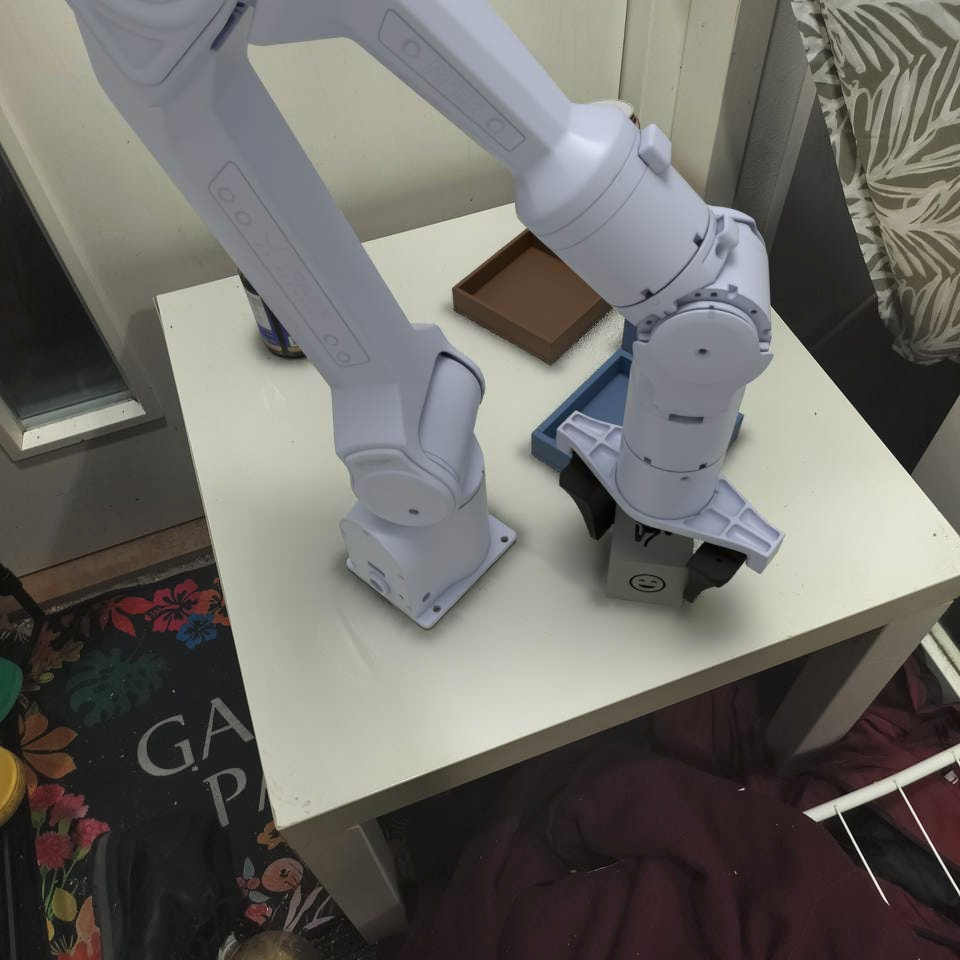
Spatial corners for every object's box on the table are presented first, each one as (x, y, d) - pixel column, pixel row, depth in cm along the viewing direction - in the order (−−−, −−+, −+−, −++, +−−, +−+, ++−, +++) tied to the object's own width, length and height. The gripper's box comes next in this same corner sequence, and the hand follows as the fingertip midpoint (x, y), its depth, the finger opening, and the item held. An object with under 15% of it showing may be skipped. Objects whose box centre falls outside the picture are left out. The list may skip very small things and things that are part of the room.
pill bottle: (340, 311, 74) (313, 205, 65) (326, 361, 71) (296, 256, 62) (272, 309, 75) (237, 203, 66) (255, 358, 71) (215, 254, 62)
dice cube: (611, 534, 59) (617, 493, 55) (683, 543, 59) (695, 502, 55) (605, 596, 56) (611, 558, 52) (680, 607, 56) (692, 569, 52)
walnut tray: (550, 365, 69) (551, 343, 67) (453, 310, 74) (451, 288, 72) (627, 294, 74) (629, 272, 72) (531, 246, 78) (531, 224, 76)
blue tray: (654, 532, 59) (659, 512, 57) (530, 453, 64) (530, 433, 62) (738, 435, 64) (744, 414, 62) (617, 369, 69) (619, 347, 67)
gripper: (835, 451, 44) (775, 578, 55) (609, 331, 50) (595, 467, 61) (767, 539, 41) (717, 655, 52) (535, 401, 47) (534, 531, 58)
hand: (647, 559), depth 56 cm, fingers open, 7 cm apart
